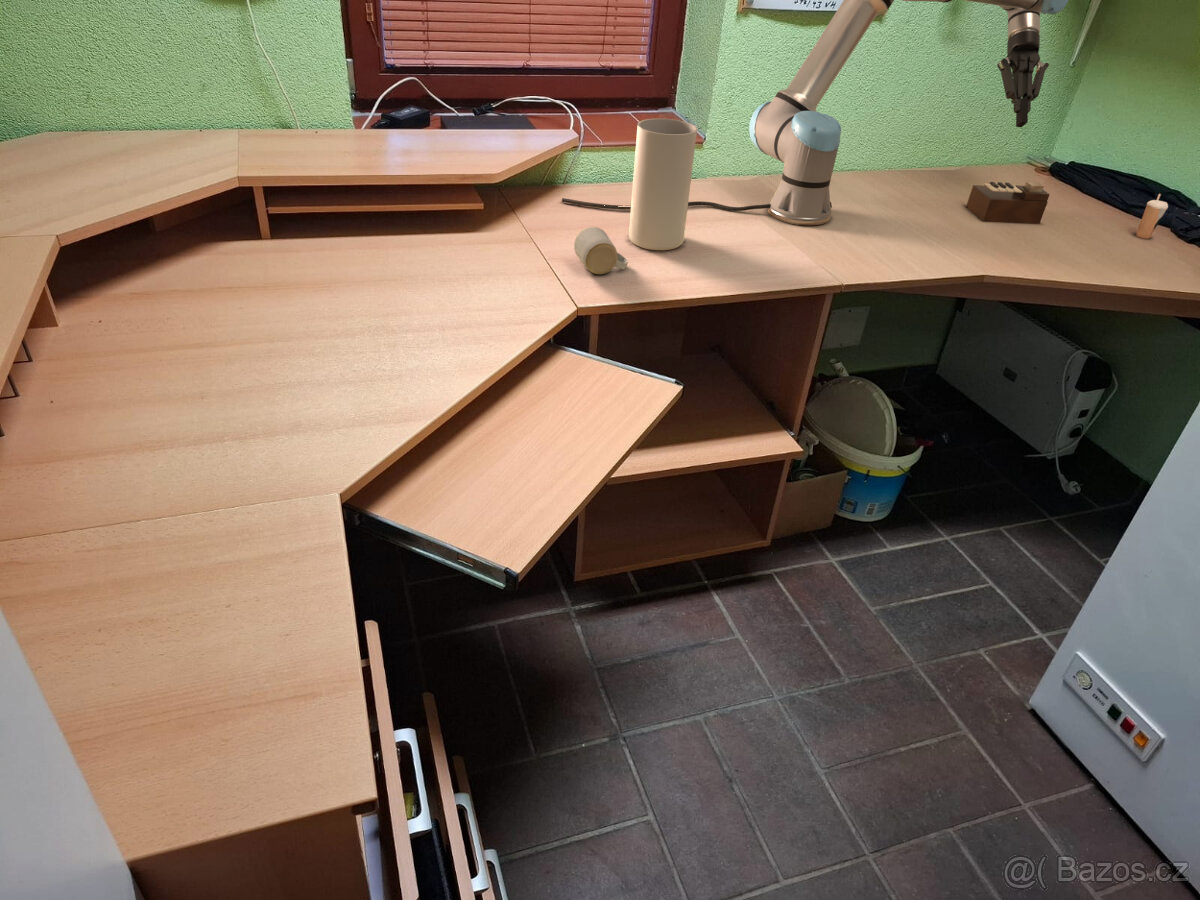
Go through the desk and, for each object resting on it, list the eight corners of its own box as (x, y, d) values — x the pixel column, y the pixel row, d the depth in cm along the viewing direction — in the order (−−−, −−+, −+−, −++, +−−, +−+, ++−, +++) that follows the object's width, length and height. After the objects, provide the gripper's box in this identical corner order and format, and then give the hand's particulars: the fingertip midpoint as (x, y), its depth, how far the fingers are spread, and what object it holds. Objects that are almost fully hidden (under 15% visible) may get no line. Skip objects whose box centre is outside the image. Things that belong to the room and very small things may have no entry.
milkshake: (1151, 234, 207) (1170, 195, 201) (1153, 241, 203) (1172, 201, 197) (1132, 230, 208) (1149, 192, 202) (1133, 237, 204) (1151, 198, 198)
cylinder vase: (694, 242, 185) (709, 128, 170) (660, 256, 177) (672, 138, 162) (651, 226, 191) (662, 115, 177) (617, 239, 184) (625, 124, 169)
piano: (983, 221, 208) (993, 192, 203) (965, 206, 216) (975, 178, 212) (1039, 223, 209) (1050, 194, 204) (1020, 208, 217) (1030, 180, 213)
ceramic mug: (585, 278, 166) (587, 242, 161) (572, 262, 172) (574, 227, 167) (632, 274, 169) (636, 239, 164) (619, 258, 175) (622, 224, 171)
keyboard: (992, 191, 204) (993, 188, 203) (983, 184, 208) (984, 181, 207) (1022, 192, 204) (1023, 189, 204) (1012, 185, 208) (1014, 182, 208)
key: (1028, 193, 206) (1031, 185, 204) (1023, 189, 208) (1026, 181, 207) (1041, 193, 206) (1044, 186, 205) (1035, 189, 208) (1038, 182, 207)
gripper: (1038, 48, 216) (1037, 133, 214) (991, 43, 215) (989, 129, 213) (1056, 31, 208) (1055, 120, 206) (1007, 26, 207) (1005, 115, 205)
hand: (1021, 124), depth 210 cm, fingers closed
